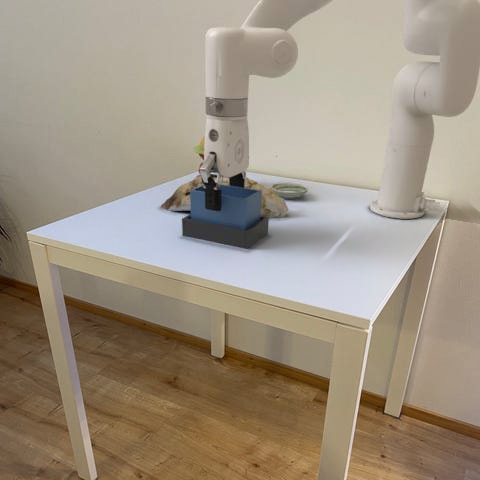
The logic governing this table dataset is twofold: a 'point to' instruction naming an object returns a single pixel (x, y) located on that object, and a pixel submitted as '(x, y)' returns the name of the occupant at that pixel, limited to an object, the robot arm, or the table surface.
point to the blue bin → (228, 207)
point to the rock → (269, 199)
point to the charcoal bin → (225, 232)
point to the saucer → (289, 190)
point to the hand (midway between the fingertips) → (225, 203)
